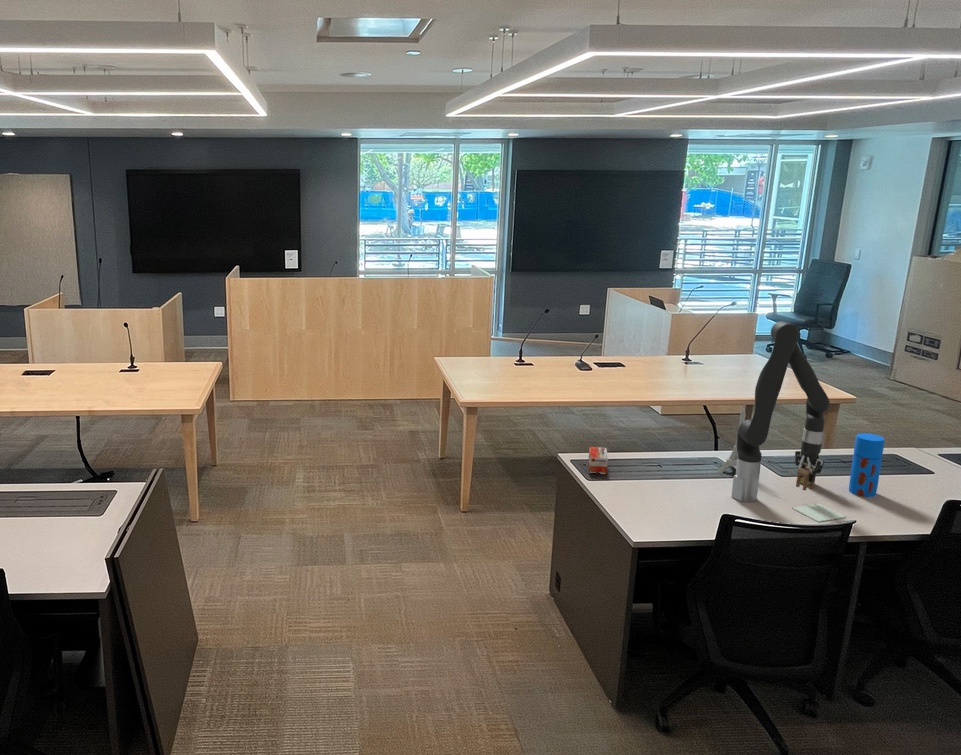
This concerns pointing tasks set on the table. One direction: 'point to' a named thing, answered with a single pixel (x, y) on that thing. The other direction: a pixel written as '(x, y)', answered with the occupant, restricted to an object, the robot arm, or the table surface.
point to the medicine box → (598, 459)
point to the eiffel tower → (734, 456)
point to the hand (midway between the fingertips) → (805, 479)
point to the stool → (805, 473)
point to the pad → (819, 512)
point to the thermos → (866, 465)
